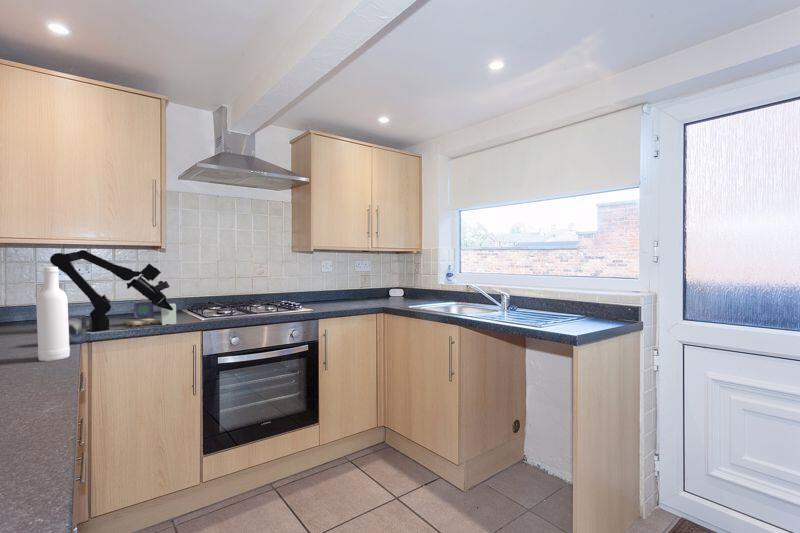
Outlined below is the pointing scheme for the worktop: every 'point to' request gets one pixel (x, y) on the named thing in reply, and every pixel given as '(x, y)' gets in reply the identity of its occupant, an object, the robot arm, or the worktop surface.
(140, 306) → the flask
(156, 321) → the trivet
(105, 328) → the robot arm
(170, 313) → the pale green block
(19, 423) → the worktop surface
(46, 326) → the bottle
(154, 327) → the worktop surface
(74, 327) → the small box
